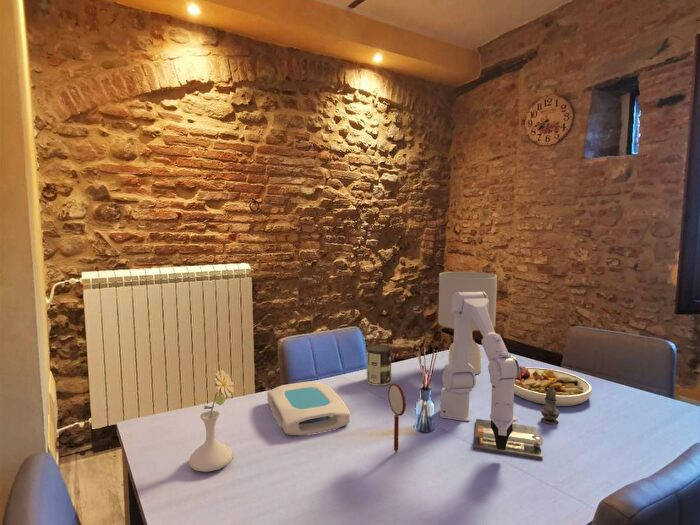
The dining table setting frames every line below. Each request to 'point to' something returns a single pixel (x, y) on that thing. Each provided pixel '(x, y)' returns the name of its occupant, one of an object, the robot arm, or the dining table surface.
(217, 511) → the dining table surface
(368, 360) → the coffee can
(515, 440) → the swing arm
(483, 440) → the label panel
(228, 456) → the flower in vase
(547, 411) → the grey tall carved piece
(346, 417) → the document scanner
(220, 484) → the dining table surface
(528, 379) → the bowl
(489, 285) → the lamp
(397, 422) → the magnifying glass
